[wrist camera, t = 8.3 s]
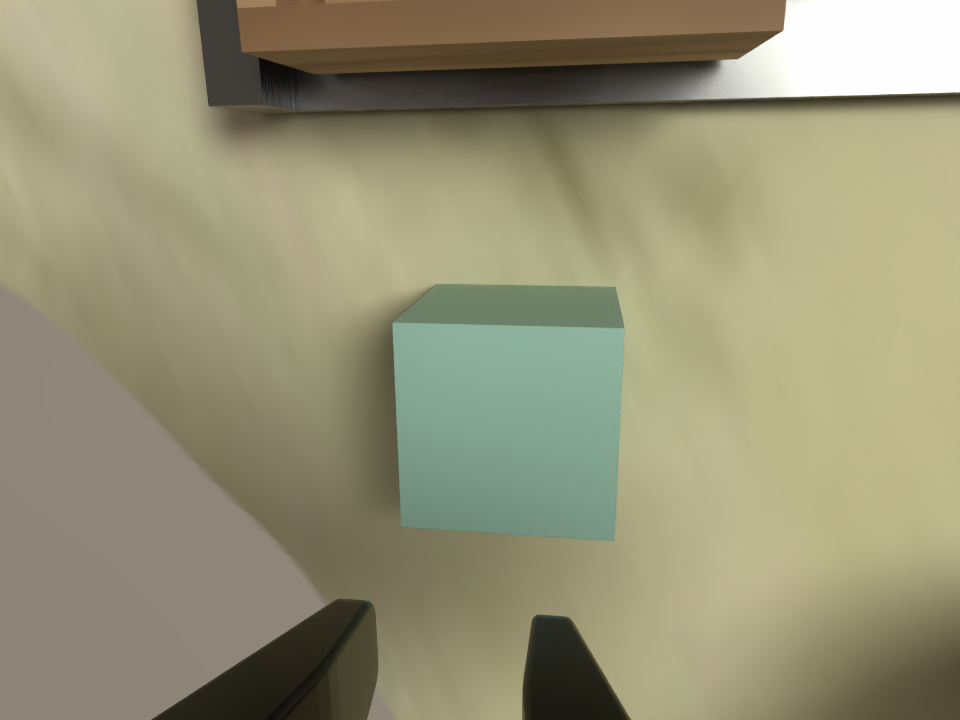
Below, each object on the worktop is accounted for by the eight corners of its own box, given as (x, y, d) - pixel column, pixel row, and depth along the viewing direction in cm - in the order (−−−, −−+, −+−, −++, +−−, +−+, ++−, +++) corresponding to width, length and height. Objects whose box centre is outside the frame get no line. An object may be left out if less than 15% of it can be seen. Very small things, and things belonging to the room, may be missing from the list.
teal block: (607, 453, 19) (614, 541, 15) (441, 445, 20) (401, 527, 15) (615, 286, 18) (624, 328, 13) (437, 283, 18) (392, 322, 14)
